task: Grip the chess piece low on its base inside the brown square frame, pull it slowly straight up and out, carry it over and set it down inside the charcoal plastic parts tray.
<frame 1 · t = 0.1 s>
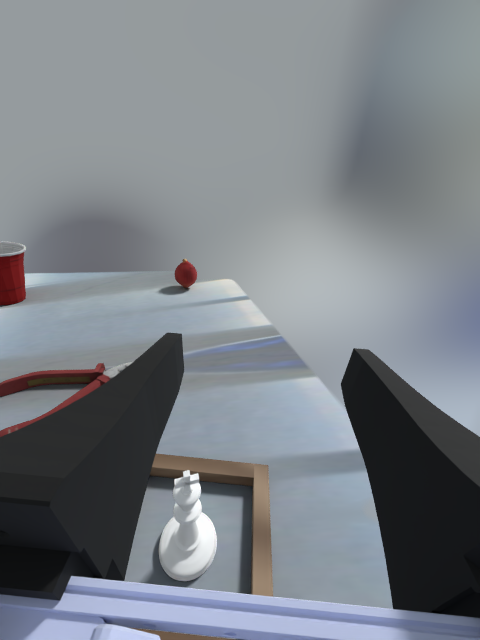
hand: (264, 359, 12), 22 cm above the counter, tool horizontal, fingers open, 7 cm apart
pliers: (83, 402, 37), on the counter
chess piece: (188, 545, 24), resting in brown square frame
plastic cup: (11, 300, 60), on the counter
brown square frame: (188, 543, 24), on the counter
onion: (186, 288, 74), on the counter
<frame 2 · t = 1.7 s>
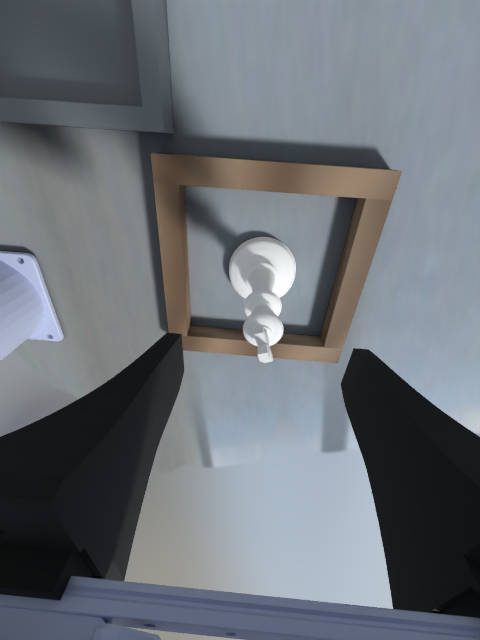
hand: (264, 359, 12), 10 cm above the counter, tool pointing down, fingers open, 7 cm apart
chess piece: (261, 269, 20), resting in brown square frame
brown square frame: (261, 270, 20), on the counter
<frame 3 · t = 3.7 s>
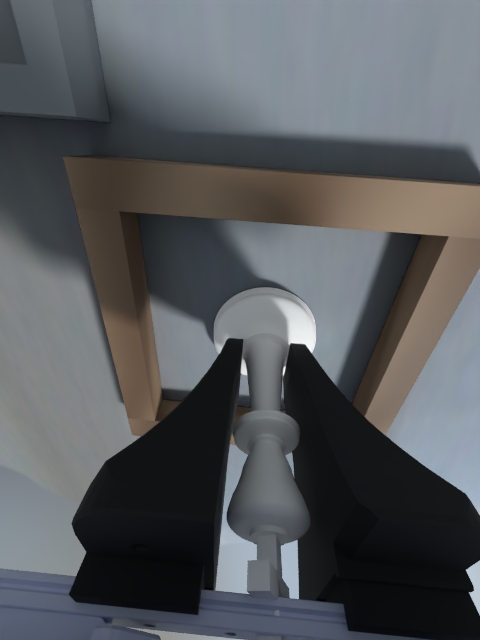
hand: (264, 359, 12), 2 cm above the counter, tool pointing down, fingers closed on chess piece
chess piece: (263, 330, 13), resting in brown square frame, touching gripper
brown square frame: (263, 332, 13), on the counter
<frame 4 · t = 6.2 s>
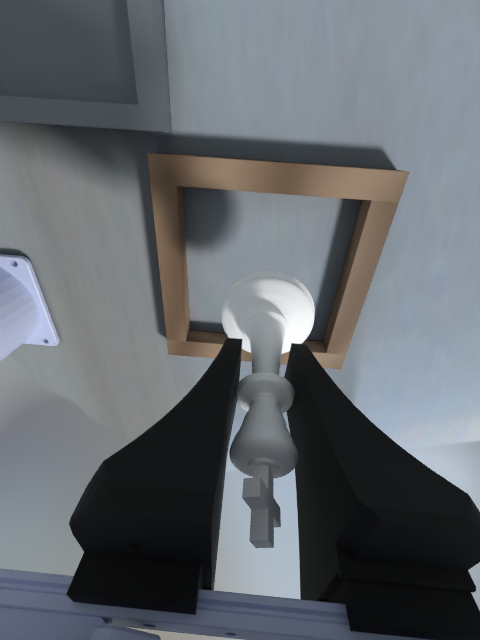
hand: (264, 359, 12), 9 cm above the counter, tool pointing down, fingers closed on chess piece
chess piece: (267, 311, 15), point 6 cm above the counter, touching gripper
brown square frame: (262, 273, 19), on the counter
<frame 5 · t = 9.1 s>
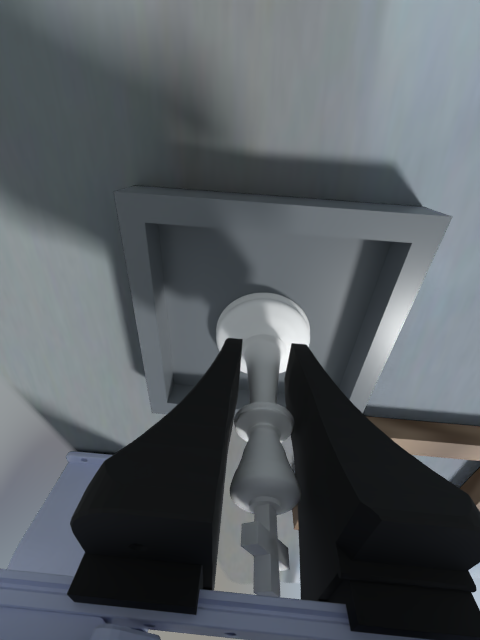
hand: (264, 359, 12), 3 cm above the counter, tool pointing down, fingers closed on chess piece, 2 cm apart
chess piece: (262, 331, 15), resting on parts tray, touching gripper
brown square frame: (393, 478, 22), on the counter
parts tray: (262, 318, 14), on the counter
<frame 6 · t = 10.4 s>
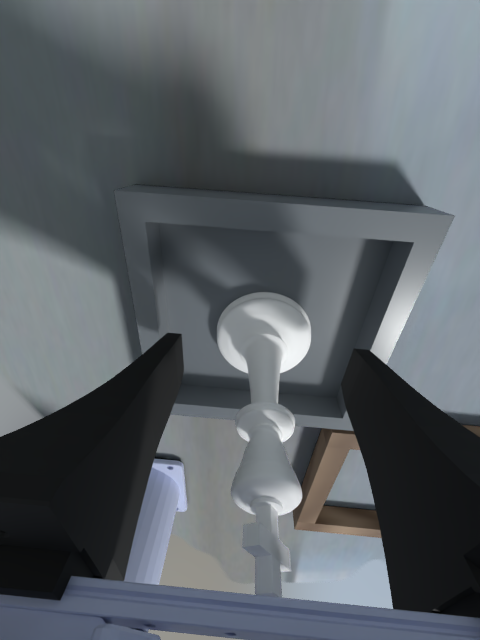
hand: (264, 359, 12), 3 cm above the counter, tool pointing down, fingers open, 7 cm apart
chess piece: (263, 331, 15), resting on parts tray
brown square frame: (394, 478, 22), on the counter
parts tray: (263, 317, 14), on the counter
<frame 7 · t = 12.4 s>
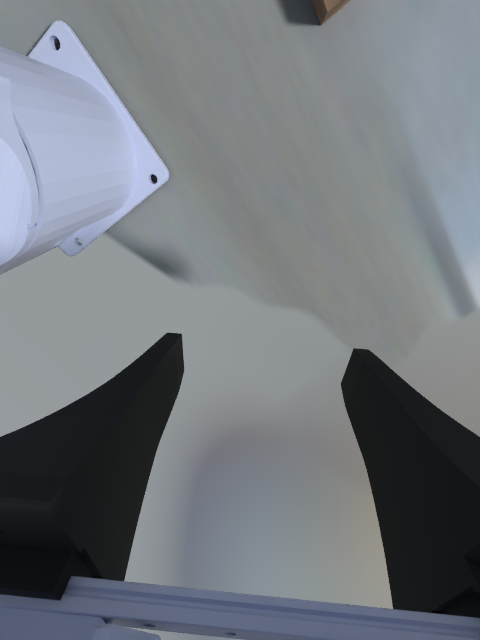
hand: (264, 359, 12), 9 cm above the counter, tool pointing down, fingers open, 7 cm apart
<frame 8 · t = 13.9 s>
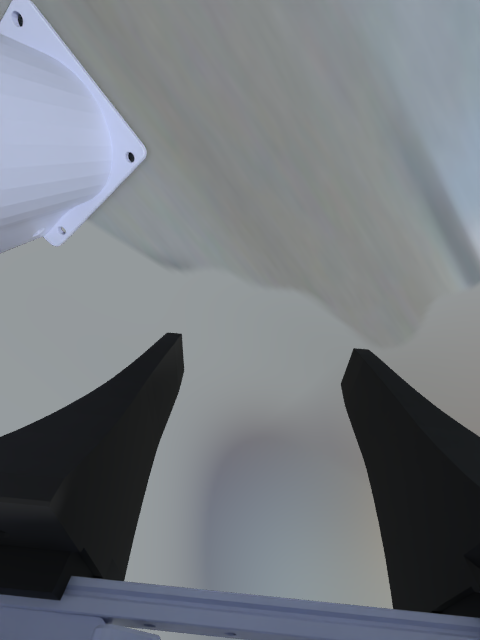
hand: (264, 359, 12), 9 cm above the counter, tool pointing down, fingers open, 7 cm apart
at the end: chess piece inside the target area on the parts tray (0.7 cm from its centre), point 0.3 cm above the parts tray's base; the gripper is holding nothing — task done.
